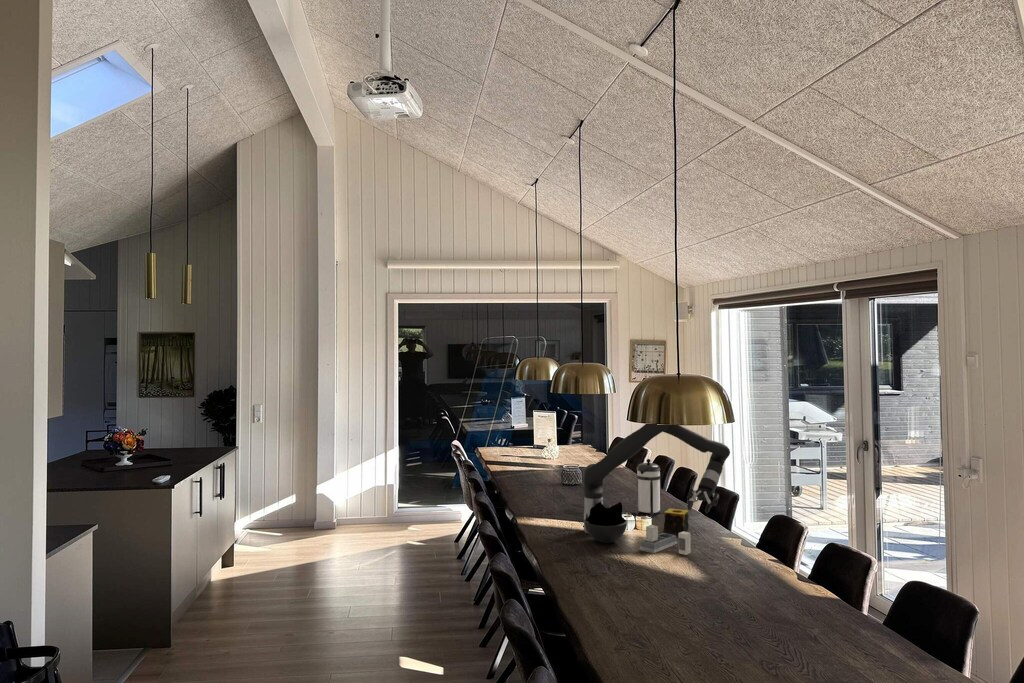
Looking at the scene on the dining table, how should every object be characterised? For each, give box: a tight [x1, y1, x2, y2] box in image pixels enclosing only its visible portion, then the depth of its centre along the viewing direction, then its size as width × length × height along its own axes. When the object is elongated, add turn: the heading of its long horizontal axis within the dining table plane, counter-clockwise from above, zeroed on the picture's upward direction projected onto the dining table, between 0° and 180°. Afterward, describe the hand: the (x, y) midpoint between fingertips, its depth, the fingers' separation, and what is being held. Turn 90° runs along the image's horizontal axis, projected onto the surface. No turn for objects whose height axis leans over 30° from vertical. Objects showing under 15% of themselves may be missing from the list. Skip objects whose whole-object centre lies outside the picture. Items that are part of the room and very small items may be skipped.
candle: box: [663, 507, 690, 535], centre depth 343 cm, size 10×10×10 cm
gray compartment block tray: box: [639, 524, 678, 554], centre depth 315 cm, size 20×7×10 cm, turn 136°
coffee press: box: [634, 458, 663, 517], centre depth 381 cm, size 17×16×30 cm
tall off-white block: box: [678, 531, 692, 556], centre depth 305 cm, size 4×4×9 cm
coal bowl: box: [583, 501, 628, 544], centre depth 324 cm, size 20×20×19 cm
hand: (697, 510), depth 314 cm, fingers open, 8 cm apart
